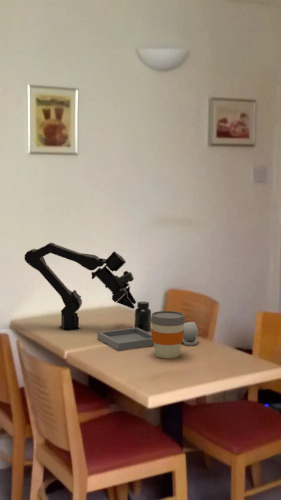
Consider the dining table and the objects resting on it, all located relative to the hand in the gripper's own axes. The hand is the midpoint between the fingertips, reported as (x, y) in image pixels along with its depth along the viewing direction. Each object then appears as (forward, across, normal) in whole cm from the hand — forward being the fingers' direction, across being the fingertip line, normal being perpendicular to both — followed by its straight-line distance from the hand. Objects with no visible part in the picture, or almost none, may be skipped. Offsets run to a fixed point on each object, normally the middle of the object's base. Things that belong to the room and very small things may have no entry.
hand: (134, 305), depth 268 cm
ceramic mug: (+23, -16, -8) cm, 29 cm away
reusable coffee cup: (+18, -33, -2) cm, 38 cm away
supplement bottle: (+10, 0, +5) cm, 11 cm away
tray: (+7, -18, +8) cm, 21 cm away
